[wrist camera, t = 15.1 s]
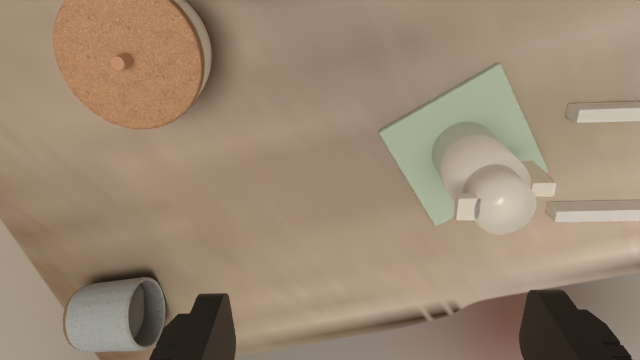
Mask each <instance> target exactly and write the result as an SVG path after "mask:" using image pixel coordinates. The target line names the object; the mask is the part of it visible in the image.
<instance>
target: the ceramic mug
mask: <svg viewBox="0 0 640 360" xmlns="http://www.w3.org/2000/svg"><path fill="white" fill-rule="evenodd" d="M164 321H165V300H164V295H163V292H162V289H161V287H160V286H159V284H158V282H157V281H156V280H154V279H153V278H150V277H141V278H134V279H126V280H119V281H111V282H102V283H95V284H92V285H88V286H85V287H82V288H80V289H79V290H77V291H76V292H75V293H74V294H73V295H72V297H71V298H70V299H69V301H68V303H67V305H66V307H65V311H64V315H63V330H64V335H65V337H66V339H67V341H68V342H69V344H70V345H71V346H72V347H73V348H75V349H78V350H81V351H87V352H106V351H142V350H147V349H150V348H151V347H152V346H154V345H155V344H156V342H157V341H158V340H159V338H160V335H161V332H162V330H163V326H164Z"/></svg>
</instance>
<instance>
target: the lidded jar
mask: <svg viewBox="0 0 640 360" xmlns="http://www.w3.org/2000/svg"><path fill="white" fill-rule="evenodd" d="M53 42H54V51H55V56H56V60H57V64H58V66H59V69H60V71H61V74H62V76H63V78H64V80H65V81H66V83H67V85H68V87H69V88H70V89H71V90H72V92H73V93H74V94H75V96H76V97H77V98H78V99H79V100H80V101H81V102H82V103H83V104H84V105H85V106H86V107H87V108H89V109H90V110H91V111H92V112H93V113H95V114H97V115H98V116H100V117H101V118H103V119H105V120H107V121H109V122H111V123H114V124H116V125H120V126H123V127H127V128H133V129H151V128H157V127H160V126H164V125H167V124H169V123H171V122H173V121H174V120H176V119H177V118H179V117H180V116H181V115H183V114H184V113H185V112H186V111H187V110H188V109H189V108H190V106H191V105H192V104H193V103H194V101H195V99H196V98H197V97H198V96H199V95H200V93H201V91H202V90H203V88H204V86H205V84H206V82H207V79H208V77H209V73H210V68H211V58H212V52H211V44H210V40H209V36H208V33H207V31H206V28H205V26H204V24H203V22H202V21H201V19H200V17H199V16H198V14H197V13H196V12H195V11H194V9H193V8H192V7H191V6H190V5H189V4H188V3H187V2H186V1H185V0H66V1H65V2H64V3H63V5H62V6H61V8H60V11H59V13H58V15H57V18H56V22H55V27H54V38H53Z"/></svg>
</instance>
